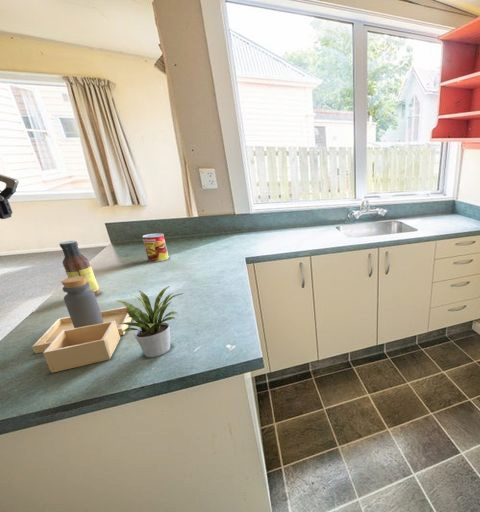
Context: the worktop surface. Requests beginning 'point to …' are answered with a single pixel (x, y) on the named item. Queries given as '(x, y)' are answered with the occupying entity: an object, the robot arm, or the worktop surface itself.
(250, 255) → the worktop surface
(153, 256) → the canned food
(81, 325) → the bottle
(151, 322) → the house plant
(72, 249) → the sauce bottle
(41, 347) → the tray
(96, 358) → the bin
